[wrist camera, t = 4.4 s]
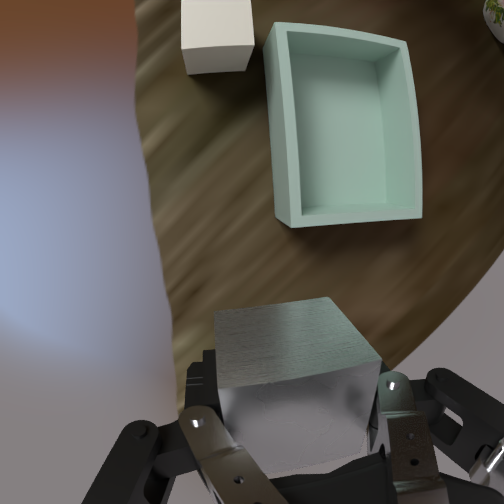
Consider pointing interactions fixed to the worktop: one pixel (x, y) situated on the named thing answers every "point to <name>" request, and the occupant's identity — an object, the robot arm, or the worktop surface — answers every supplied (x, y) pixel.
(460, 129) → the worktop surface
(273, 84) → the tote
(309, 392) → the steel block
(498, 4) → the pitcher
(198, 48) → the cream box
